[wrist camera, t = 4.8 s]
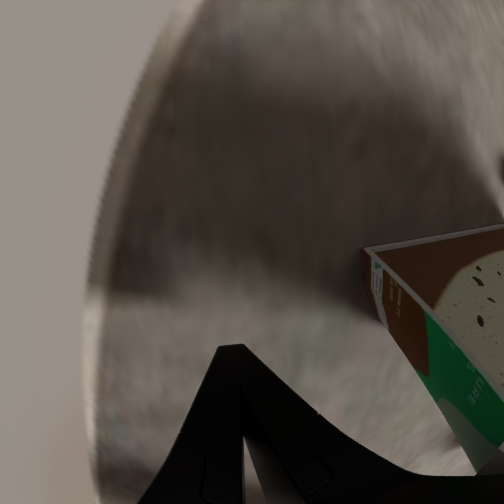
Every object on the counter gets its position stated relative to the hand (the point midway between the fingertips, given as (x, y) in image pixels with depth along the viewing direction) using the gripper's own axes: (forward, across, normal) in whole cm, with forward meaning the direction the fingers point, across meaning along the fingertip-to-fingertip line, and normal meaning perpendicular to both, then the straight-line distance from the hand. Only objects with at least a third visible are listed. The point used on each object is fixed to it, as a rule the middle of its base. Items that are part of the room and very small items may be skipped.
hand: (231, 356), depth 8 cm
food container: (+2, -10, +1) cm, 10 cm away
